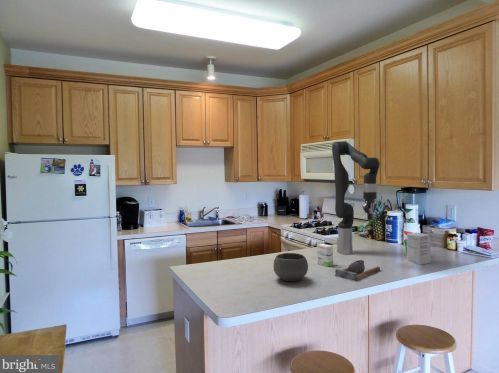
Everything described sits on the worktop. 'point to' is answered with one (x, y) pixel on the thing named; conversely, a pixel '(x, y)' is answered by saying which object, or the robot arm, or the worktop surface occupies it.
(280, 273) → the bowl
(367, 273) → the channel
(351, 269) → the perforated stone tool
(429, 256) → the supplement box
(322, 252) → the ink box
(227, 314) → the worktop surface
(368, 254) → the worktop surface
